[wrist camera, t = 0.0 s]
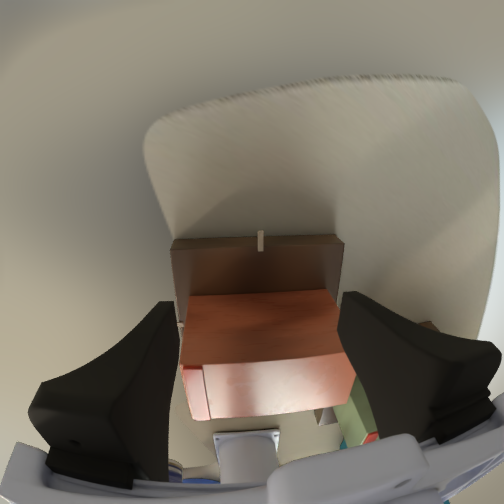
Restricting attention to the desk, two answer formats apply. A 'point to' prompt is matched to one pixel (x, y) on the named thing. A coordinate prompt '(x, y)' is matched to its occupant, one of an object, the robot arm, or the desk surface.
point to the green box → (356, 418)
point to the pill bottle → (175, 471)
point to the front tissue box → (263, 354)
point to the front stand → (254, 266)
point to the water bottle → (200, 481)
